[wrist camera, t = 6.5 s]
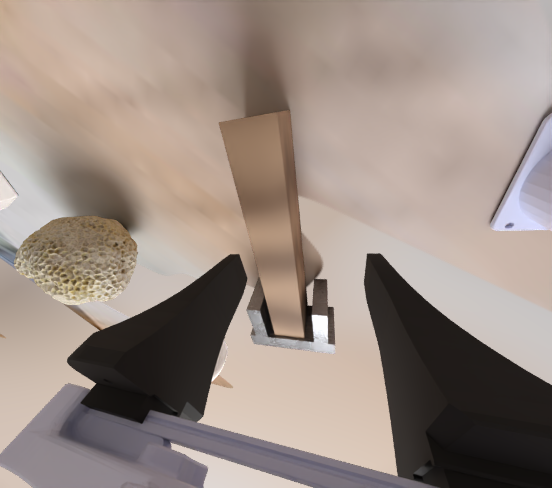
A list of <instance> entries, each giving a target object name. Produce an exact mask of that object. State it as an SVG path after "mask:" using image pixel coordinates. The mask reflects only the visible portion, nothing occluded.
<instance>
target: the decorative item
mask: <svg viewBox="0 0 552 488" xmlns="http://www.w3.org/2000/svg"><path fill="white" fill-rule="evenodd" d="M137 254H138V252H137V244H136V242H135V241H134V240H133V239H132V238H131V236H130V234H129V232H128V231H127V230H126V229H125V228H124V227H123V226H122V225H121V224H120V223H119V222H118V221H117V220H113V219H105V218H101V217H98V216H79V217H63V218H58V219H55V220H52V221H50V222H49V223H48V224H46V225H45V226H43V227H41V228H40V230H38V231H35V232H34V233H33V234H32V235H30V236H29V237H28V238H27V239H26V240H24V241H23V244H22V245H21V246H20V249H19V250H18V251H17V253H16V257H15V261H14V263H15V264H14V266H15V268H16V269H17V271H18V273H19V274H21V275H25V276H26V277H27V278H34V281H35V283H36V284H37V285H38V286H39V287H40V288H41V289H42V290H43V291H44V292H45V293H47V294H50V295H51V296H52V297H53V298H54V299H56V300H58V301H60V302H61V303H64V304H69V305H79V304H83V303H85V302H95V301H100V302H104V301H108V300H112V299H114V298H115V297H117V296H118V295H119V294H120V293H122V292H123V291H124V290H125V289H126V287H127V286H128V284H129V282H130V278H131V276H132V274H133V272H134V268H135V266H136V257H137Z"/></svg>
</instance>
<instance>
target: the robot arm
mask: <svg viewBox="0 0 552 488" xmlns="http://www.w3.org/2000/svg"><path fill="white" fill-rule="evenodd" d="M508 223H510V224H509V225H507V226H505V225H506V224H508ZM490 227H491V228H492V229H493V230H495V231H519V230H551V231H552V113H551V114H549V115H548V116H547V117H546V118H545V119H544V120H543V122H542V124H541V126H540V128H539V130H538V132H537V133H536V135H535V137H534V139H533V141H532V143H531V145H530V147H529V149H528V151H527V153H526V155H525V157H524V159H523V161H522V163H521V165H520V167H519V169H518V171H517V173H516V175H515V177H514V179H513V181H512V183H511V185H510V186H509V188H508V190H507V192H506V194H505V196H504V198H503V200H502V202H501V204H500V206H499V208H498V210H497V212H496V214H495V216H494V218H493V220H492V222H491V224H490ZM246 283H247V276H246V273H245V270H244V267H243V264H242V261H241V258H240V255H239V254H230V255H229V256H227V257H226V258H225V259H223V260H222V261H221V262H219V263H218V264H217V265H215V266H214V267H213V268H212V269H210V270H209V271H208V272H206V273H205V274H204V275H203V276H201V277H200V278H199V279H197V280H196V281H194V282H193V283H192V284H190V285H189V286H187V287H186V288H184V289H183V290H181V291H180V292H178V293H177V294H175V295H173V296H172V297H170V298H169V299H167V300H165V301H163V302H161V303H160V304H158V305H156V306H154V307H152V308H150V309H148V310H146V311H144V312H142V313H140V314H138V315H136V316H134V317H132V318H129V319H127V320H125V321H123V322H120V323H118V324H115V325H113V326H110V327H108V328H105V329H103V330H100V331H98V332H95V333H93V334H92V335H91V336H90V337H89V338H88V339H87V340H86V341H85V342H84V343H83V344H82V345H81V346H80V347H78V348H77V349H76V350H75V351H74V352H73V354H71V355H70V356H69V357H68V359H67V363H68V364H69V365H70V366H71V367H72V368H73V369H75V370H76V371H78V372H79V373H81V374H82V375H84V376H86V377H88V378H89V379H90V380H92V381H93V382H95V383H96V385H95V386H94V387H93V388H92V389H91V390H90V389H87V388H85V387H81V386H77V385H73V384H70V383H68V384H65V386H64V387H63V388H62V389H61V390H60V391H59V392H58V393H57V394H56V395H55V396H54V397H53V398H52V399H51V400H50V402H49V403H48V404H47V405H46V406H45V407H44V408H43V409H42V410H41V411H40V413H38V414H37V415H36V416H35V418H34V419H33V420H32V421H31V422H30V423H29V424H28V425H27V426H26V427H25V428H24V429H23V430H22V432H21V433H20V434H19V435H18V436H17V437H16V438H15V439H14V440H13V441H12V442H11V443H10V444H9V445H8V446H7V447H6V448H5V450H4V451H3V452H2V453H1V454H0V466H1V467H3V468H5V469H7V470H9V471H11V472H12V473H14V474H16V475H17V476H19V477H20V478H21V479H23V480H24V481H25V482H27V483H28V484H29V485H30V486H31V487H33V488H203V484H204V480H205V477H206V474H207V471H208V468H207V466H205V465H203V464H201V463H199V462H197V461H195V460H193V459H191V458H189V457H188V456H186V455H185V454H182V453H180V452H177V451H174V450H172V449H171V443H174V444H177V445H181V446H184V447H187V448H190V449H193V450H196V451H200V452H203V453H206V454H209V455H212V456H215V457H218V458H222V459H225V460H228V461H231V462H235V463H237V464H241V465H244V466H247V467H250V468H253V469H256V470H260V471H263V472H266V473H269V474H272V475H275V476H279V477H282V478H285V479H288V480H291V481H294V482H298V483H301V484H304V485H307V486H310V487H313V488H552V385H550V384H549V383H547V382H545V381H543V380H542V379H540V378H538V377H537V376H535V375H533V374H531V373H530V372H528V371H526V370H524V369H523V368H521V367H520V366H518V365H517V364H515V363H513V362H512V361H510V360H509V359H507V358H505V357H504V356H502V355H501V354H499V353H497V352H496V351H494V350H493V349H491V348H490V347H488V346H487V345H485V344H483V343H482V342H481V341H479V340H477V339H476V338H475V337H473V336H472V335H470V334H469V333H468V332H466V331H465V330H463V329H462V328H460V327H459V326H458V325H456V324H455V323H454V322H452V321H451V320H450V319H448V318H447V317H446V316H445V315H443V314H442V313H441V312H440V311H438V310H437V309H436V308H435V307H433V306H432V305H431V304H430V303H429V302H428V301H426V300H425V299H424V298H423V297H422V296H421V295H420V294H419V293H417V292H416V291H415V290H414V289H413V288H412V287H411V286H410V285H409V284H408V283H407V282H406V281H405V280H404V279H403V278H402V277H401V276H400V275H399V274H398V273H397V271H396V270H395V269H394V268H393V267H392V266H391V265H390V264H389V262H388V261H387V260H386V259H385V258H384V257H383V256H382V255H381V254H367V260H366V269H365V279H364V286H365V293H366V299H367V304H368V308H369V311H370V315H371V319H372V322H373V326H374V330H375V334H376V337H377V341H378V345H379V350H380V355H381V361H382V367H383V372H384V379H385V386H386V391H387V399H388V405H389V412H390V419H391V427H392V434H393V442H394V449H395V458H396V466H397V473H398V476H394V475H390V474H387V473H383V472H379V471H375V470H372V469H368V468H364V467H361V466H357V465H353V464H350V463H346V462H342V461H338V460H335V459H331V458H327V457H323V456H319V455H316V454H312V453H309V452H305V451H301V450H298V449H294V448H290V447H286V446H282V445H279V444H275V443H271V442H267V441H264V440H260V439H256V438H253V437H249V436H245V435H242V434H238V433H234V432H231V431H227V430H223V429H219V428H216V427H212V426H208V425H204V424H201V423H197V421H199V420H200V419H201V418H202V417H203V415H204V410H205V405H206V402H207V397H208V393H209V389H210V385H211V381H212V377H213V374H214V370H215V366H216V363H217V360H218V356H219V353H220V350H221V347H222V344H223V341H224V338H225V335H226V332H227V329H228V327H229V325H230V322H231V320H232V318H233V315H234V313H235V311H236V309H237V307H238V305H239V302H240V300H241V298H242V295H243V293H244V289H245V286H246ZM170 442H171V443H170Z"/></svg>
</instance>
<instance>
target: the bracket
mask: <svg viewBox="0 0 552 488" xmlns="http://www.w3.org/2000/svg"><path fill="white" fill-rule="evenodd" d="M327 304H328V302H327V280H326V279H314V289H313V305H312V306H307V316H306V326H305V337H304V339H303V338H295V337H286V336H278V335H275V332H274V329H273V325H272V321H271V317H270V314H269V310H268V306H267V302H266V299H265V295H264V291H263V287H262V284H261V280H260V277H259V279H258V281H257V284H256V286H255V289H254V292H253V295H252V297H251V300H250V302H249V305H248V307H247V312H248V315H249V318H250V320H251V323H252V326H253V329H252V332H251V338H252V340H253V342H254V344H259V345H267V346H275V347H283V348H291V349H298V350H306V351H314V352H322V353H330V354H335V332H334V308H333V307H328V305H327Z"/></svg>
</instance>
